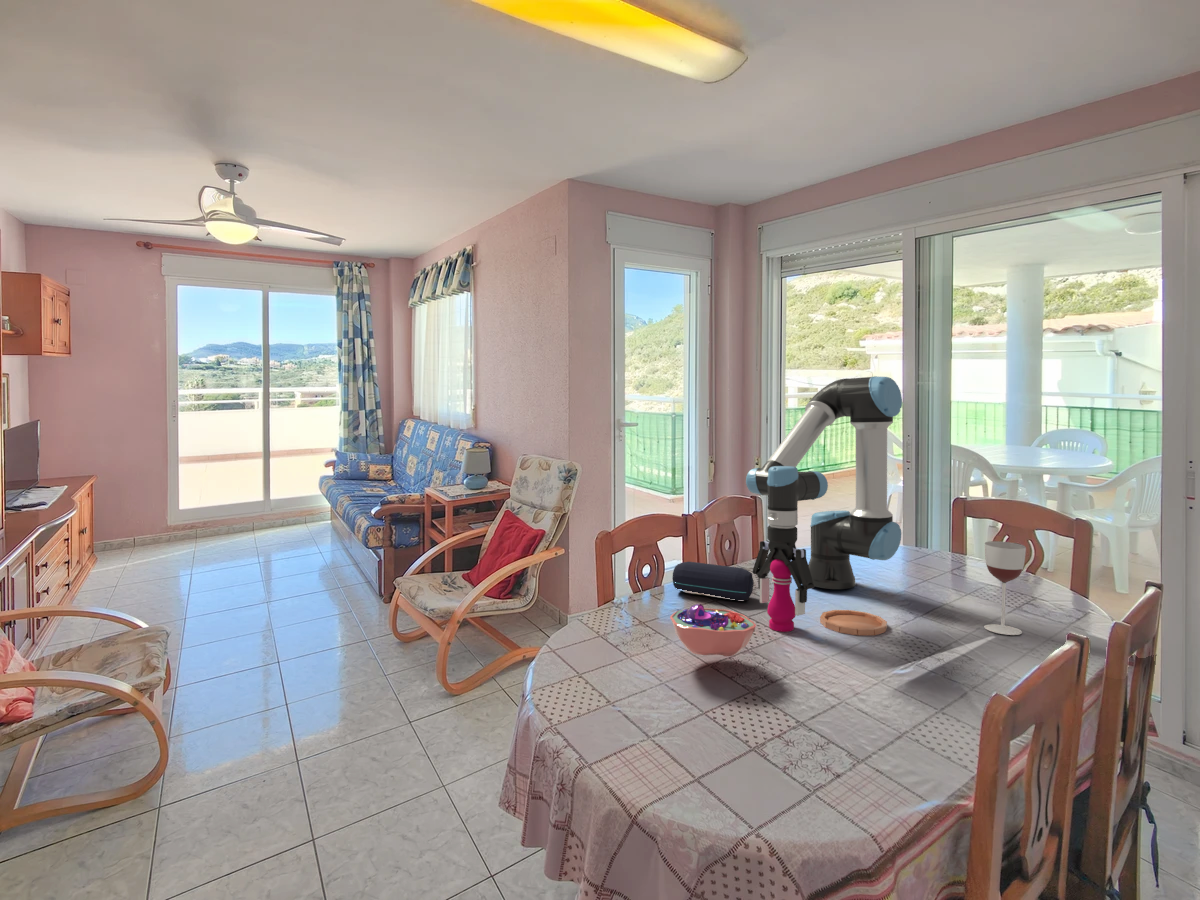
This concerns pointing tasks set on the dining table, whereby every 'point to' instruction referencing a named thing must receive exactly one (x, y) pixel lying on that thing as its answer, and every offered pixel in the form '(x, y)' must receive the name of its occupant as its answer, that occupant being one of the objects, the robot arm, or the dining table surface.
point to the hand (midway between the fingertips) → (781, 608)
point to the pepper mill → (781, 598)
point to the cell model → (712, 630)
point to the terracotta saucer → (853, 622)
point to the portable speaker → (714, 580)
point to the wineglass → (1004, 574)
